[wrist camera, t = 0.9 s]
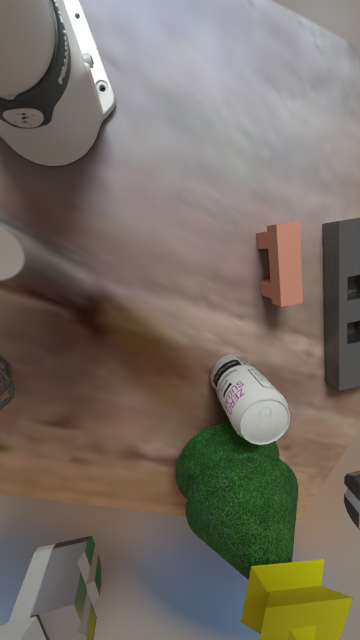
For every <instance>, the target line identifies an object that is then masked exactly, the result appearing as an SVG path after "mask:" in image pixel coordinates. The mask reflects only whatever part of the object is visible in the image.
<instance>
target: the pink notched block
mask: <svg viewBox="0 0 360 640" xmlns="http://www.w3.org/2000/svg"><path fill="white" fill-rule="evenodd" d="M257 246H258V249H265V248H268V250H269V265H270V279H269V280H263V281H260V284H261V295H263V296H265V297H268V298H271V299H272V303H273V304H275V305H278V306H280V307H284V306H289V305H294V304H299V303H303V290H302V263H301V236H300V220H299V221H293V222H287V223H281V224H275V225H271V226H267V232H262V233H257Z"/></svg>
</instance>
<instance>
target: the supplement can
mask: <svg viewBox="0 0 360 640" xmlns="http://www.w3.org/2000/svg"><path fill="white" fill-rule="evenodd" d="M210 381H211V384H212V386H213V388H214V390H215V392H216V394H217V396H218V398H219V400H220V402H221V404H222V406H223V408H224V410H225V412H226V414H227V416H228V418H229V420H230V422H231V424H232V426H233V428H234V429H235V431H236V432H237V434H238V435H240V436H241V437H243V438H244V439H246V440H248V441H249V442H251V443H253V444H258V445H263V444H269V443H271V442H274V441H276V440H277V439H279V438H280V437H281V436H282V435H283V434H284V433H285V431H286V430H287V428H288V425H289V422H290V414H289V411H288V404H287V402H286V400H285V398H284V397H283V396H282V395H281V394H280V393H279V391H278V390H277V389H276V388H275V387H274V386H273V385H272V384H271V383H270V382H269V381H268V380H267V379H266V378H265V377H264V376H263V375H262V374H261V373H260V372H259V371H258V370H257V369H256V368H255V367H254V366H253V365H252V364H251V363H250V361H249V360H247V359H246V358H245V357H243V356H240V355H237V354H232V355H227V356H224V357H222V358H220V359H219V360H218V361H217V362H216V363H215V364H214V366H213V367H212V369H211V373H210Z"/></svg>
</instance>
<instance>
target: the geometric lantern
mask: <svg viewBox="0 0 360 640" xmlns="http://www.w3.org/2000/svg"><path fill="white" fill-rule="evenodd" d="M0 361H1V362H2V363H3V364H4V365H5V366H6V367H5V368H4V369H2V368H1V367H0V374H1V378H0V381H3V383H4V385H5V386H4V387H3V388H2V389H1V390H0V396H1V395H2V394H3V392H4V391H5V390H6V389H7V391H8V393H9V395H10V396H9V397H8V398H6V399H4V400H3V401H1V402H0V410H1V409H2V408H3V407H4V406H5V405H6V404H8V403H9V402H10V401H11V400H12V399H13V397H14V383H13V381H12V379H11V378H10V377H9V376H8V375H9V374H10V373H11V371H10V367H9V365H8V364H7V363H6V362H5V361H4V360H3V359H2V358H1V357H0ZM6 370H8V373H5V372H4V371H6ZM4 378H5V379H6V380H7V381H8V383H6V381H5V379H4ZM9 386H10V389H9Z"/></svg>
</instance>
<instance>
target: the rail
mask: <svg viewBox="0 0 360 640" xmlns="http://www.w3.org/2000/svg"><path fill="white" fill-rule="evenodd" d="M356 275H357V287H356V292H354V293H349V294H347V289H348V277H351V276H356ZM323 286H324V352H325V381H326V382H327V383H329V384H330V385H331V386H333V387H334V388H336V389H337V390H338V391H341V390H346V389H350V388H354V387H359V386H360V218H355V219H349V220H343V221H337V222H331V223H325V224H323ZM355 321H356V333H351V334H347V323H350V322H355Z"/></svg>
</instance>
